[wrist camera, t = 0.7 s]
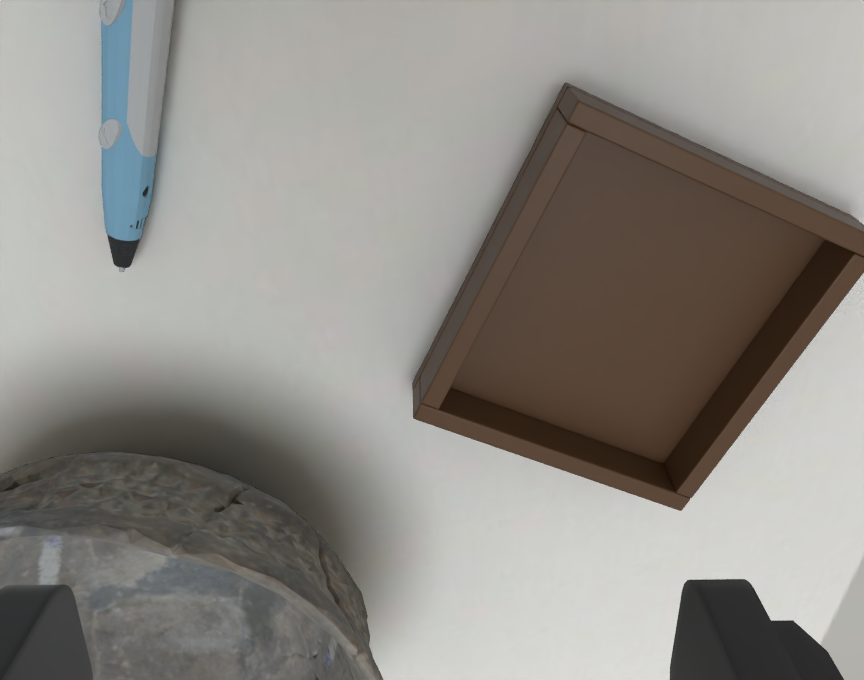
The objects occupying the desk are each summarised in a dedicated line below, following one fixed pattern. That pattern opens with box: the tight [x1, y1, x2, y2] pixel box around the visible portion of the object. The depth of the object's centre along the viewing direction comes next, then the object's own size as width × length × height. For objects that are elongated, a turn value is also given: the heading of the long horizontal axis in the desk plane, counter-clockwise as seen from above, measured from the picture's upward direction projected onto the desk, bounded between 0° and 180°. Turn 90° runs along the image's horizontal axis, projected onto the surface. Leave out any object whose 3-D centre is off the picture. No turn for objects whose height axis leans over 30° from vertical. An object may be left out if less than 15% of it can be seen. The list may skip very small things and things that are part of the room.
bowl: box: [0, 452, 383, 680], centre depth 35 cm, size 21×21×10 cm
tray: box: [412, 83, 864, 511], centre depth 32 cm, size 14×13×3 cm
